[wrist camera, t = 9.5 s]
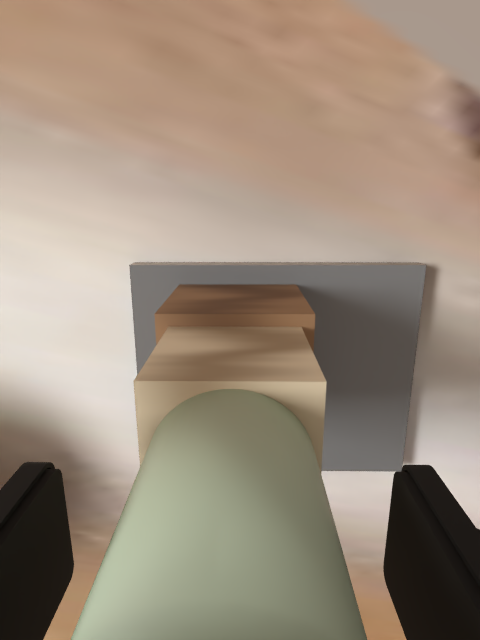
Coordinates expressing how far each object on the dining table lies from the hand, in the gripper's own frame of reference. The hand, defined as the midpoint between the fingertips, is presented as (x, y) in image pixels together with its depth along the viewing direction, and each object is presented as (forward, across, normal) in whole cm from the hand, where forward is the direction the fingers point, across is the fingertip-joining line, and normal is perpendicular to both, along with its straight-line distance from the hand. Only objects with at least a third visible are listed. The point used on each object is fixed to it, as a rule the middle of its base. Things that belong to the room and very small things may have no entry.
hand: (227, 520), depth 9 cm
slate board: (+14, -2, +2) cm, 14 cm away
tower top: (+7, 0, 0) cm, 7 cm away
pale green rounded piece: (+2, 0, 0) cm, 2 cm away
